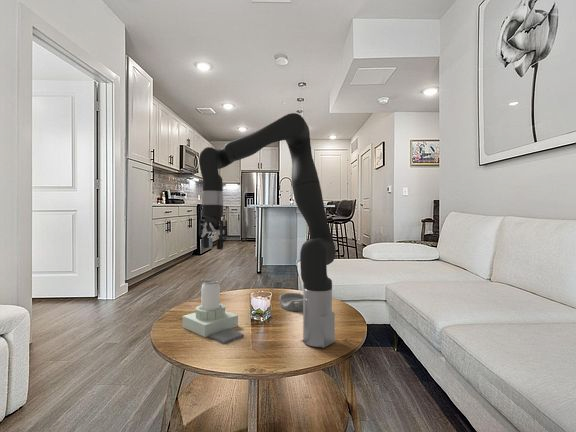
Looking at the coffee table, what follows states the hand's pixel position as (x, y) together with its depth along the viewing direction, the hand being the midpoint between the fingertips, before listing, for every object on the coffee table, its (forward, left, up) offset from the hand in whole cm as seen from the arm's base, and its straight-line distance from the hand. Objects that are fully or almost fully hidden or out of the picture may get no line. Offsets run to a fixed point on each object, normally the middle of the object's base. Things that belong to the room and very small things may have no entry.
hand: (212, 248), depth 113 cm
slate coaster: (-12, +3, -28) cm, 31 cm away
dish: (-7, -38, -29) cm, 48 cm away
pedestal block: (0, +1, -28) cm, 28 cm away
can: (0, +1, -24) cm, 24 cm away
